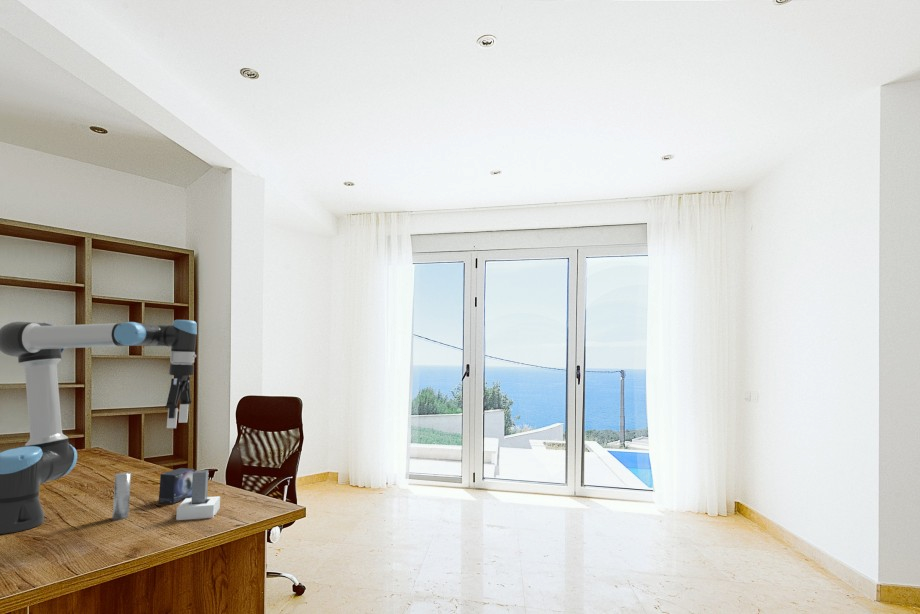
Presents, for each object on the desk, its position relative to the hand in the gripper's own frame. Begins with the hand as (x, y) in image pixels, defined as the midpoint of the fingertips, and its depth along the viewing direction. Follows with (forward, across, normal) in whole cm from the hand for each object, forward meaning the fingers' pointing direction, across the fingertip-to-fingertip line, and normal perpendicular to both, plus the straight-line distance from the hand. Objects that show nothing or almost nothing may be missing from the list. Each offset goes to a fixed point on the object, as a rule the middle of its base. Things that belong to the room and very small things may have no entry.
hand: (177, 425), depth 179 cm
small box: (+29, +14, +2) cm, 33 cm away
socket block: (+29, -5, -10) cm, 31 cm away
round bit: (+29, -4, +14) cm, 33 cm away
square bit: (+29, -5, -10) cm, 31 cm away
